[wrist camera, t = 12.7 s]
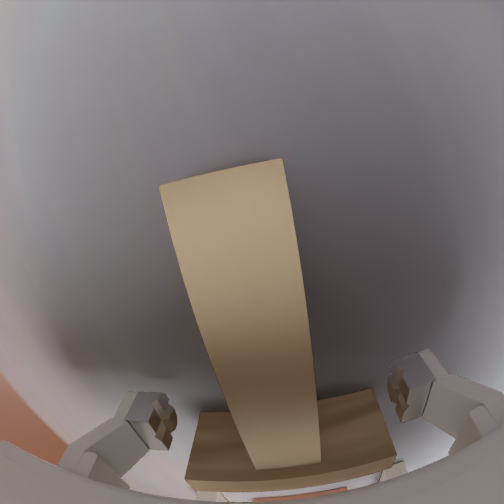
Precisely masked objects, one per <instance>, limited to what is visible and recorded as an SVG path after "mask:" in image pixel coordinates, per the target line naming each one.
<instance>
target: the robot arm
mask: <svg viewBox="0 0 504 504" xmlns="http://www.w3.org/2000/svg"><path fill="white" fill-rule="evenodd" d="M389 370H390V372H391V375H390V376H389V377H388V384H387V385H388V393H389V396H390V399H391V401H392V402H394V403H396V404H397V405H396V412H397V415H398V417H399V419H400V421H401V423H402V422H406V421H409V420H412V419H415V418H418V417H420V416H422V417H423V418H425V419H426V420H428V421H429V422H431V423H432V424H434V425H435V426H437V427H438V428H440V429H442V430H443V431H445V432H446V433H448V434H449V435H451V436H453V437H454V438H456V440H455V441H454V443H453V445H452V447H451V448H450V450H449V452H448V453H449V456H447V457H444V458H442V459H440V460H438V461H436V462H433V463H431V464H429V465H426V466H424V467H422V468H419V469H417V470H414V471H411V472H409V473H406V474H403V475H400V476H397V477H394V478H391V479H388V480H385V481H382V482H379V483H375V484H372V485H368V486H364V487H360V488H356V489H352V490H348V491H343V492H338V493H333V494H328V495H322V496H316V497H309V498H302V499H293V500H283V501H269V502H212V501H198V500H188V499H179V498H172V497H165V496H159V495H153V494H148V493H143V492H138V491H134V490H129V488H130V487H129V485H128V484H127V483H126V482H125V481H124V480H123V479H122V478H121V477H122V476H123V475H124V474H125V473H126V472H127V471H128V470H130V469H131V468H132V467H133V466H134V465H135V464H136V463H137V462H138V461H139V460H140V459H141V458H142V457H143V456H144V455H145V454H146V453H147V452H148V451H149V449H152V450H165V451H169V448H170V445H171V442H172V439H173V437H172V435H171V432H173V431H174V430H175V429H176V426H177V414H176V411H175V409H174V407H172V406H171V405H170V404H168V401H169V399H168V397H167V395H166V394H165V393H161V392H141V391H140V392H137V391H129V392H128V393H127V394H126V396H125V397H124V399H123V401H122V403H121V405H120V407H119V408H118V410H117V412H116V414H115V416H114V418H113V419H109V420H107V421H106V422H104V423H103V424H101V425H100V426H98V427H96V428H95V429H93V430H92V431H90V432H89V433H87V434H86V435H84V436H82V437H81V438H79V439H78V440H76V441H74V442H73V443H71V444H70V445H69V446H68V448H67V450H66V451H65V453H64V455H63V457H62V458H61V460H60V462H59V464H58V466H56V465H53V464H51V463H49V462H47V461H44V460H42V459H40V458H38V457H36V456H34V455H32V454H30V453H28V452H26V451H24V450H22V449H20V448H18V447H17V446H15V445H13V444H11V443H9V442H8V441H5V440H1V441H0V504H504V395H503V394H502V392H499V391H497V390H494V389H491V388H488V387H486V386H483V385H480V384H478V383H475V382H472V381H470V380H467V379H464V378H462V377H459V376H456V375H454V374H451V375H449V374H448V373H447V372H446V370H445V369H444V367H443V366H442V365H441V363H440V362H439V361H438V359H437V358H436V357H435V355H434V354H433V353H432V351H431V350H429V349H426V350H423V351H420V352H417V353H414V354H411V355H408V356H405V357H402V358H399V359H396V360H392V361H391V363H390V367H389Z"/></svg>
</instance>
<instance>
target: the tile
mask: <svg viewBox="0 0 504 504" xmlns="http://www.w3.org/2000/svg"><path fill="white" fill-rule="evenodd" d="M343 491H347V487H343V488H338V489H333V490H328V491H322V492H316V493H309V494H302V495H294V496H284V497H272V498H255V502H269V501H283V500H293V499H302V498H309V497H316V496H322V495H328V494H333V493H338V492H343Z"/></svg>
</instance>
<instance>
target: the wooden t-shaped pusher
mask: <svg viewBox="0 0 504 504" xmlns="http://www.w3.org/2000/svg"><path fill="white" fill-rule="evenodd" d="M159 190H160V194H161V198H162V203H163V207H164V211H165V215H166V219H167V223H168V227H169V230H170V234H171V238H172V242H173V245H174V249H175V253H176V256H177V260H178V263H179V267H180V270H181V273H182V277H183V280H184V283H185V287H186V290H187V293H188V296H189V300H190V303H191V306H192V309H193V312H194V315H195V318H196V321H197V324H198V327H199V330H200V333H201V336H202V339H203V342H204V344H205V347H206V350H207V353H208V356H209V358H210V361H211V364H212V367H213V369H214V372H215V375H216V377H217V380H218V382H219V385H220V388H221V390H222V393H223V395H224V398H225V400H226V403H227V405H228V408H229V410H230V411H223V412H201V413H200V417H199V421H198V425H197V429H196V433H195V437H194V441H193V445H192V450H191V454H190V458H189V462H188V466H187V470H186V475H185V481H186V482H187V483H188V484H189V485H190V486H191V487H192V488H193V489H194V490H196V491H211V492H263V491H278V490H289V489H298V488H305V487H312V486H319V485H325V484H330V483H335V482H340V481H345V480H349V479H354V478H358V477H362V476H365V475H369V474H373V473H376V472H380V471H383V470H386V469H389V468H392V466H393V463H394V461H395V458H396V456H397V454H396V451H395V448H394V445H393V443H392V440H391V437H390V434H389V432H388V429H387V426H386V424H385V421H384V418H383V416H382V413H381V410H380V408H379V405H378V403H377V400H376V398H375V395H374V393H373V390H372V388H371V389H367V390H363V391H359V392H355V393H351V394H346V395H342V396H337V397H333V398H328V399H323V400H317V396H316V385H315V375H314V365H313V356H312V347H311V338H310V330H309V322H308V314H307V306H306V299H305V291H304V284H303V277H302V270H301V264H300V257H299V251H298V244H297V238H296V232H295V226H294V220H293V214H292V209H291V203H290V198H289V192H288V187H287V181H286V176H285V171H284V166H283V161H282V158H279V159H274V160H268V161H263V162H257V163H252V164H247V165H242V166H238V167H233V168H228V169H224V170H219V171H215V172H210V173H206V174H202V175H198V176H194V177H190V178H186V179H182V180H178V181H174V182H170V183H167V184H163V185H159Z"/></svg>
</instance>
